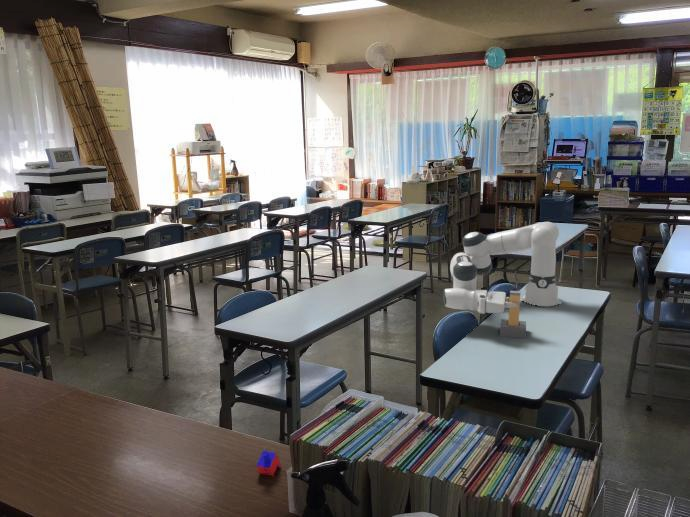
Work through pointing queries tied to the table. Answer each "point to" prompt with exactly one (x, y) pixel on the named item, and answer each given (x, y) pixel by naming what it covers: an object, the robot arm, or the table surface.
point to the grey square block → (513, 329)
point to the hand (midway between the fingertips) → (516, 303)
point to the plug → (514, 308)
